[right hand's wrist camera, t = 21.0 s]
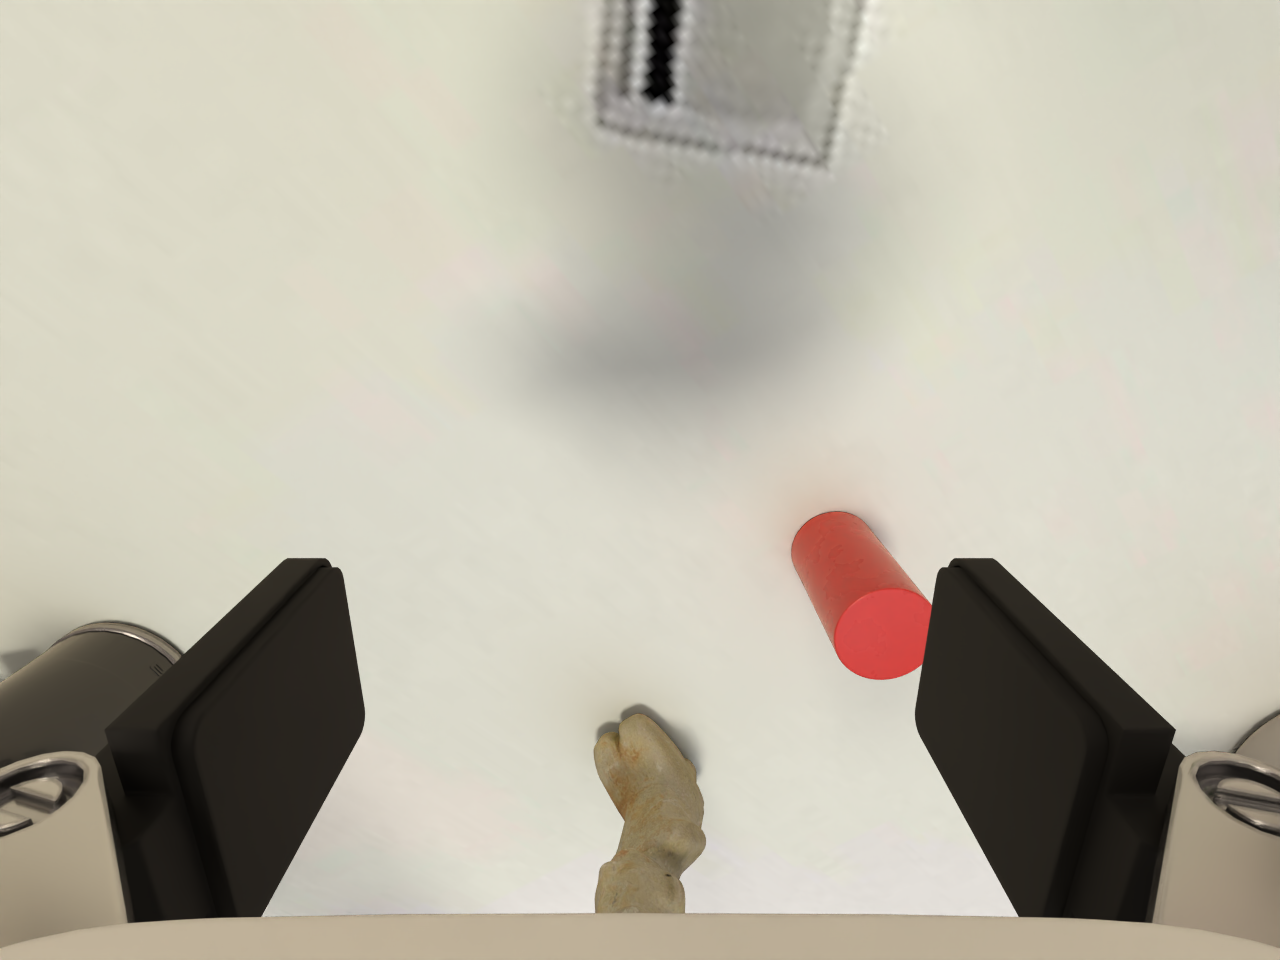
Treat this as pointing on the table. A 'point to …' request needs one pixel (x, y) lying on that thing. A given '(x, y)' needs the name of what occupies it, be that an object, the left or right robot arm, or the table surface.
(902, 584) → the canister
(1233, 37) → the table surface
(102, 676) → the left robot arm
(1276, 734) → the bust sculpture
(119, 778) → the right robot arm
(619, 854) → the sculpture
